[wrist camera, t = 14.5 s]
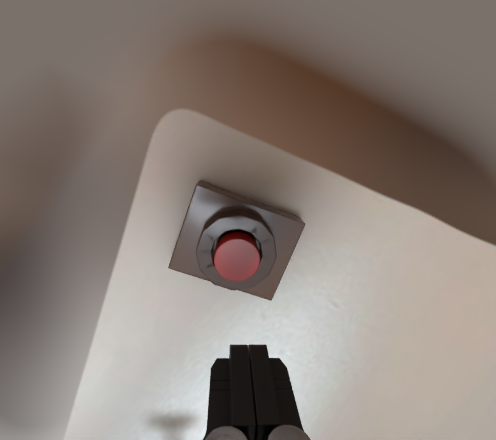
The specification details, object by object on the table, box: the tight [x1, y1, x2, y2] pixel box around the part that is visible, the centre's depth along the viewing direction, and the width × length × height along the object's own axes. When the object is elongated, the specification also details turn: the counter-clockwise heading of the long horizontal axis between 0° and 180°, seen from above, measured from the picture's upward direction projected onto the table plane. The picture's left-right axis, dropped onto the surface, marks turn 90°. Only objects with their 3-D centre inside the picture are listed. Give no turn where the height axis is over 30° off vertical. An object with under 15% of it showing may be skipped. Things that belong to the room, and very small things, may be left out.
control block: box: [168, 181, 305, 300], centre depth 26 cm, size 10×8×4 cm
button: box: [214, 232, 260, 281], centre depth 24 cm, size 4×4×2 cm
